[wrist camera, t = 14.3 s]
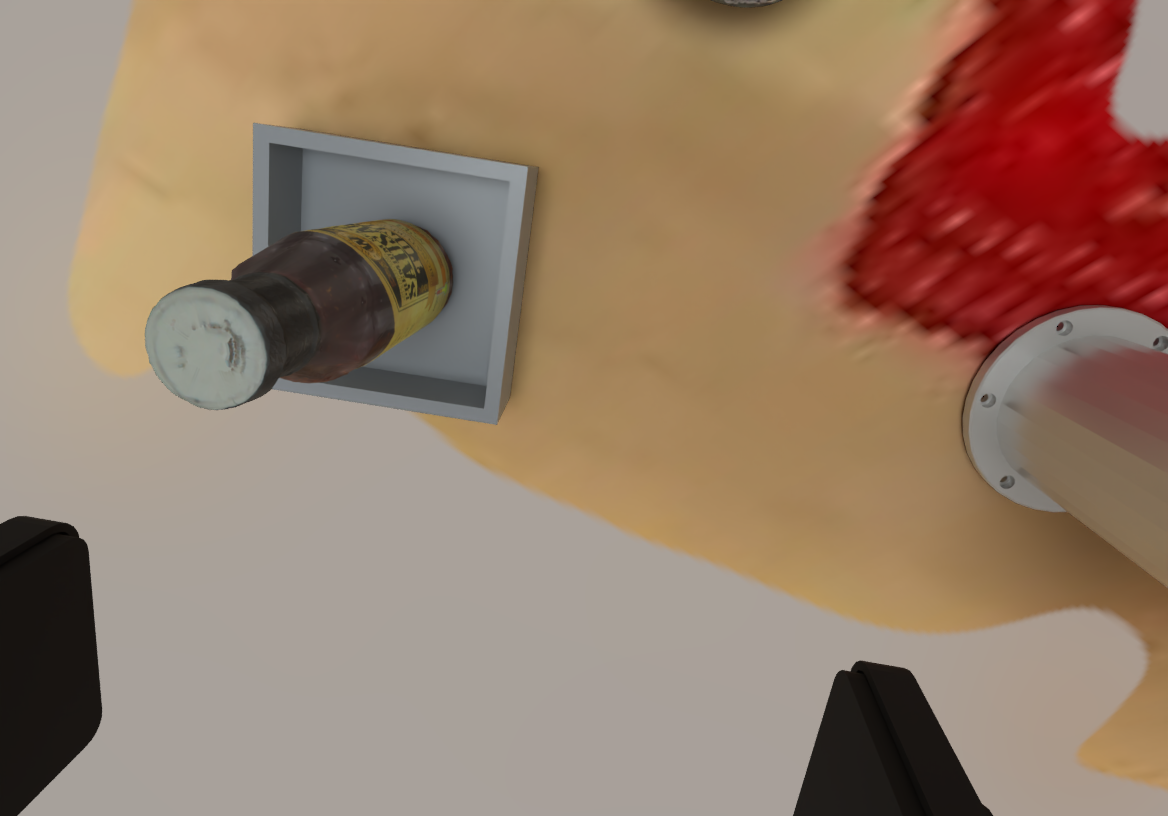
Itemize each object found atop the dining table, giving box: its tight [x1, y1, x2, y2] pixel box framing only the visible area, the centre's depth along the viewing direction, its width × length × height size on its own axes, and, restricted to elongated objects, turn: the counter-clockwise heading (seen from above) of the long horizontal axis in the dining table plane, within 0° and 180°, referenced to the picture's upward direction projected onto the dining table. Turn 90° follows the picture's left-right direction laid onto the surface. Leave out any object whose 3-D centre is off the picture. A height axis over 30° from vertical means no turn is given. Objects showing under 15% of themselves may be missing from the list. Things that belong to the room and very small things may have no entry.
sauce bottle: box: [145, 219, 453, 410], centre depth 32 cm, size 7×6×20 cm
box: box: [253, 123, 539, 425], centre depth 40 cm, size 14×14×5 cm
